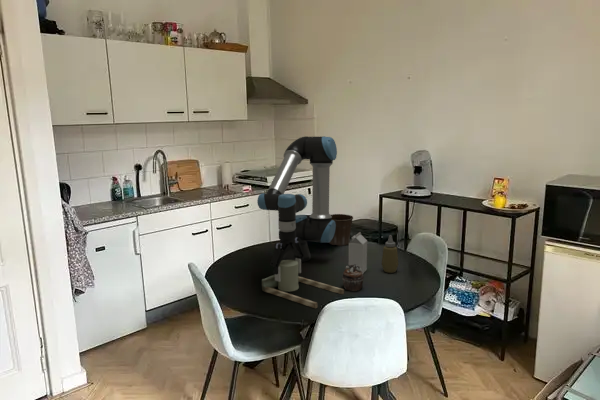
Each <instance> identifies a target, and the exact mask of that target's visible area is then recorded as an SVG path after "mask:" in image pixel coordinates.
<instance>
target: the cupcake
mask: <svg viewBox="0 0 600 400" xmlns="http://www.w3.org/2000/svg"><path fill="white" fill-rule="evenodd" d="M361 270H362V269H361V268H360V267H359V266H356V264H354V265H349V264H348V265H346V266H345V269H344V271H343V272H342V273H343V274H342V277H341V278H342V279H341V280H342V284H343V289H344V288H345V289H344V290H346V291H349V292H357V290H358V291H361V290H362V289H361V288H363V283H364V279H365V276H364V273H363V274H362V272H361ZM360 289H361V290H360Z"/></svg>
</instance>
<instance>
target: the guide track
mask: <svg viewBox="0 0 600 400" xmlns="http://www.w3.org/2000/svg"><path fill="white" fill-rule="evenodd" d="M298 283H301V284H306V285H308V286H312V287H316V288H319V289H323V290H326V291H330V292H331V293H336V294H339V295H344V294H345V289H344V288H341V287H337V286H334V285H331V284H327V283H323V282H320V281H316V280H313V279H309V278H305V277H303V276H299V275H298ZM276 288H278V281H275V274H273V275H270V276H268V277H266V278H262V279H261V290H262V291H263V292H265V293H268V294H271V295H274V296H277V297H280V298H283V299H285V300H289V301H292V302H295V303H298V304H301V305H303V306H307V307H310V308H313V309H317V308H318V302H317V301H313V300H310V299H308V298H304V297H300V296H298V295H294V294H292V293H288V292H286V291H281V290H279V289H276Z"/></svg>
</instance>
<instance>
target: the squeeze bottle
mask: <svg viewBox="0 0 600 400" xmlns="http://www.w3.org/2000/svg"><path fill="white" fill-rule="evenodd" d="M382 249H383V250H382V258H381V267H382V269H383V271H384V273H389V274H391V273H396V272H397V269H398V267H399V255H398V254H399V253H398V247H397V246H396V242H395V241H394V240H393V235H391V234H389V235H388V240H387V241H386V242H385V245H384V246H383V248H382Z"/></svg>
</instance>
